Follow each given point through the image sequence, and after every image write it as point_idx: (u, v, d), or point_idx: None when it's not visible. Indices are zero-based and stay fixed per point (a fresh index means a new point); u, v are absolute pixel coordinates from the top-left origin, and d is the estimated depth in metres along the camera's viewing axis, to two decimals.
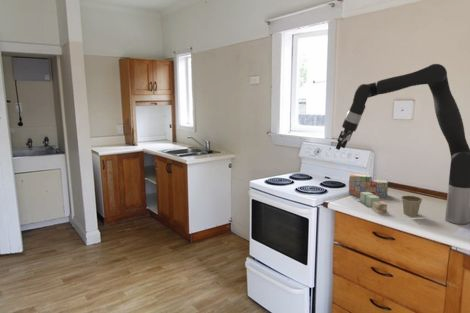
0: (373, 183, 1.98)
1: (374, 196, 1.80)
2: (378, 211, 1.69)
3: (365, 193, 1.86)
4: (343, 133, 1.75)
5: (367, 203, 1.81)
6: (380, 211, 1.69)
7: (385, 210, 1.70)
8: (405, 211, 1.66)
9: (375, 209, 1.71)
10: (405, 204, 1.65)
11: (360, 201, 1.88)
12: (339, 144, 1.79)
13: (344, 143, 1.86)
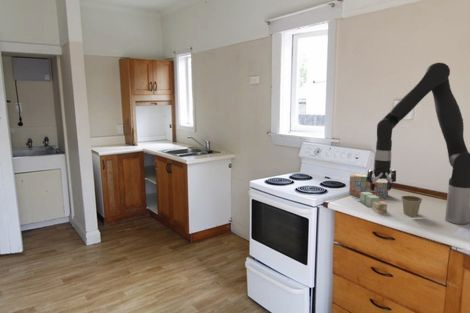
0: (374, 183, 1.97)
1: (374, 196, 1.80)
2: (378, 211, 1.69)
3: (365, 193, 1.86)
4: (369, 172, 1.67)
5: (367, 203, 1.81)
6: (380, 211, 1.69)
7: (385, 210, 1.70)
8: (405, 211, 1.66)
9: (375, 209, 1.71)
10: (405, 204, 1.65)
11: (360, 201, 1.88)
12: None
13: (388, 184, 1.70)
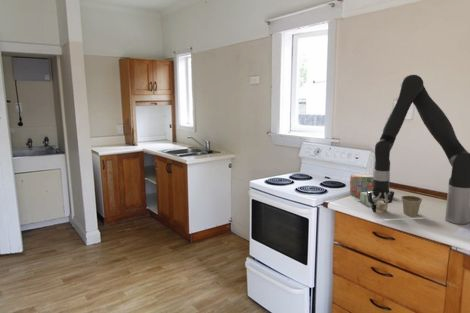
0: None
1: None
2: (378, 211, 1.69)
3: (365, 193, 1.86)
4: (368, 194, 1.70)
5: (367, 203, 1.81)
6: (380, 211, 1.69)
7: (385, 210, 1.70)
8: (405, 211, 1.66)
9: None
10: (405, 204, 1.65)
11: (360, 201, 1.88)
12: (373, 205, 1.71)
13: None
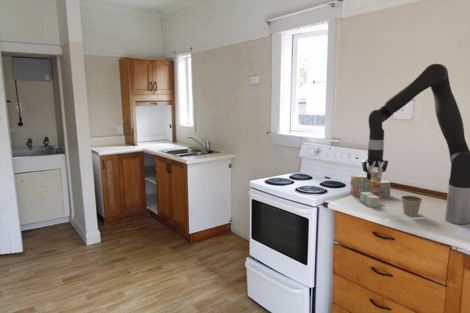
0: (376, 183, 1.97)
1: (374, 196, 1.80)
2: (372, 179, 1.76)
3: (365, 193, 1.86)
4: (363, 163, 1.76)
5: (367, 203, 1.81)
6: (374, 179, 1.76)
7: (379, 178, 1.76)
8: (405, 211, 1.66)
9: None
10: (405, 204, 1.65)
11: (360, 201, 1.88)
12: (367, 174, 1.77)
13: None
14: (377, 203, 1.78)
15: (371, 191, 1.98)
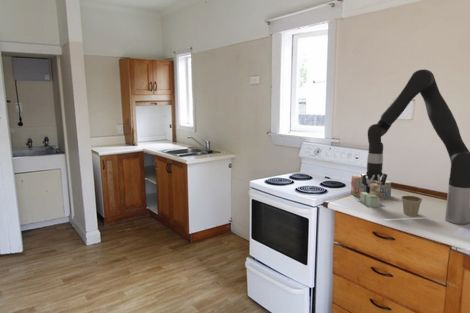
0: None
1: (374, 196, 1.80)
2: (371, 192, 1.77)
3: (365, 193, 1.86)
4: (362, 176, 1.77)
5: (367, 203, 1.81)
6: (373, 192, 1.77)
7: (378, 191, 1.77)
8: (405, 211, 1.66)
9: None
10: (405, 204, 1.65)
11: (360, 201, 1.88)
12: (367, 187, 1.79)
13: None
14: (377, 203, 1.78)
15: None
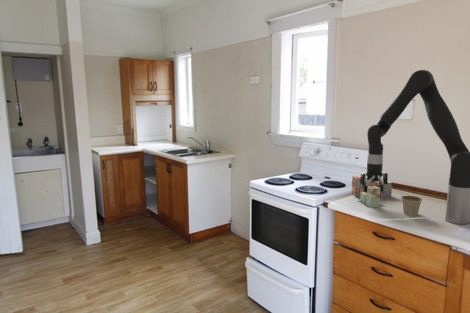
0: (378, 184, 1.96)
1: None
2: (371, 195, 1.77)
3: (365, 193, 1.86)
4: (362, 175, 1.77)
5: (367, 203, 1.81)
6: (373, 195, 1.77)
7: (378, 194, 1.78)
8: (405, 211, 1.66)
9: (369, 193, 1.79)
10: (405, 204, 1.65)
11: (360, 201, 1.88)
12: None
13: (380, 186, 1.80)
14: (377, 203, 1.78)
15: None
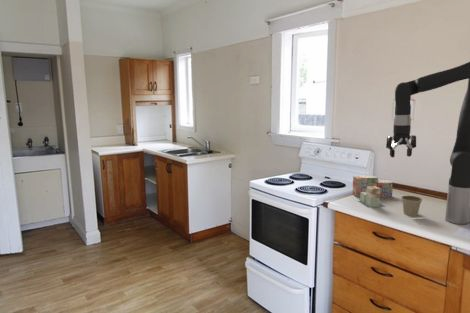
0: (379, 184, 1.96)
1: None
2: (371, 195, 1.77)
3: (365, 193, 1.86)
4: (388, 138, 1.65)
5: (367, 203, 1.81)
6: (373, 195, 1.77)
7: (378, 194, 1.78)
8: (405, 211, 1.66)
9: (369, 193, 1.79)
10: (405, 204, 1.65)
11: (360, 201, 1.88)
12: (391, 151, 1.66)
13: (408, 150, 1.67)
14: (377, 203, 1.78)
15: None
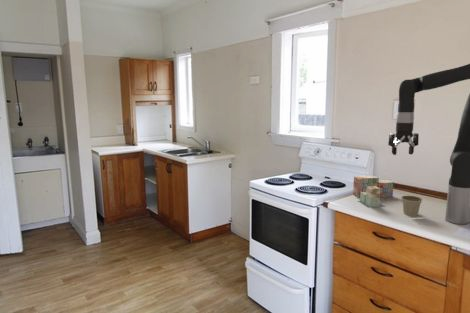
0: (380, 184, 1.96)
1: None
2: (371, 195, 1.77)
3: (365, 193, 1.86)
4: (391, 135, 1.63)
5: (367, 203, 1.81)
6: (373, 195, 1.77)
7: (378, 194, 1.78)
8: (405, 211, 1.66)
9: (369, 193, 1.79)
10: (405, 204, 1.65)
11: (360, 201, 1.88)
12: (393, 148, 1.65)
13: (410, 148, 1.66)
14: (377, 203, 1.78)
15: None
